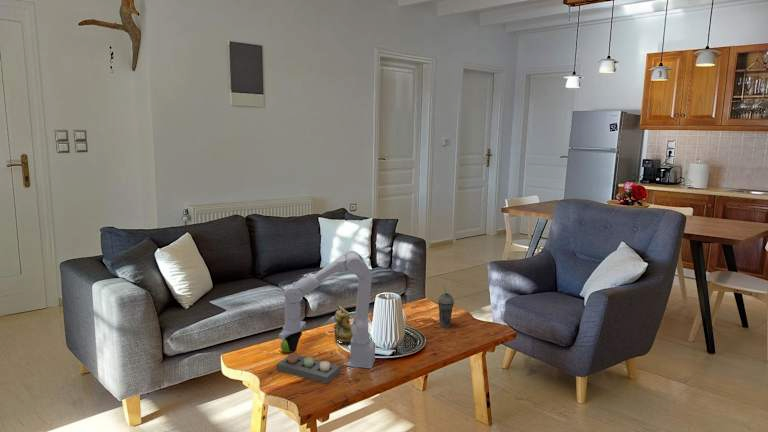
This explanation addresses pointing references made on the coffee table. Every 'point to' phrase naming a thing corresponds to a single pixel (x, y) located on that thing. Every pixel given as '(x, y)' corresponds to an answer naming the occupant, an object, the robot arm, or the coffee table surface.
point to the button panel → (309, 370)
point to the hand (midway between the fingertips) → (292, 350)
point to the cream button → (324, 366)
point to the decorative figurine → (342, 325)
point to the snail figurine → (285, 345)
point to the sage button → (308, 362)
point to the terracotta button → (293, 358)
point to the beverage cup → (445, 309)
